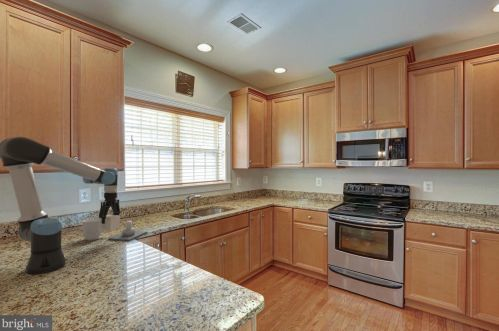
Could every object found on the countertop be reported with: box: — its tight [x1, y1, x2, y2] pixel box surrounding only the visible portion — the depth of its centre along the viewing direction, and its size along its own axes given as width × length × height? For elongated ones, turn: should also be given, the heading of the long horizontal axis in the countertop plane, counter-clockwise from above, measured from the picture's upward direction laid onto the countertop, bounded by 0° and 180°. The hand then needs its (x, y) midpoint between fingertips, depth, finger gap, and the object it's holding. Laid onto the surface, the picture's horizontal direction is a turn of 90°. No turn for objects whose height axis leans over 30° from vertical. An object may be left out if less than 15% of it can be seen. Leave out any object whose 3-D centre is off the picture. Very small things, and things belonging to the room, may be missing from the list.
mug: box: [82, 217, 108, 242], centre depth 168 cm, size 15×11×13 cm
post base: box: [107, 220, 148, 242], centre depth 174 cm, size 20×16×10 cm
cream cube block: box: [98, 214, 121, 232], centre depth 159 cm, size 8×8×8 cm
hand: (109, 226), depth 159 cm, fingers closed on cream cube block, 8 cm apart
